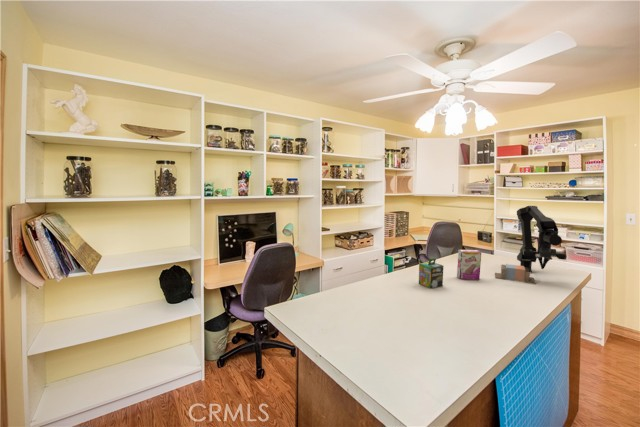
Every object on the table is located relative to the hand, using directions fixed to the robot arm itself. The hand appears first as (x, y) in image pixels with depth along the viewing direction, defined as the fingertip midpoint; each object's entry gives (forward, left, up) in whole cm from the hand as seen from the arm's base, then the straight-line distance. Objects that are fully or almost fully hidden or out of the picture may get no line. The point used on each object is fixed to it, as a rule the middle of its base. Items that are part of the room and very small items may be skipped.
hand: (542, 268), depth 162 cm
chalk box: (+38, -53, -7) cm, 65 cm away
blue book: (+3, -15, -7) cm, 17 cm away
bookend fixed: (+3, -20, -7) cm, 21 cm away
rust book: (+3, -11, -7) cm, 13 cm away
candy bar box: (+16, -36, -7) cm, 40 cm away
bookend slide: (+3, -6, -7) cm, 9 cm away
